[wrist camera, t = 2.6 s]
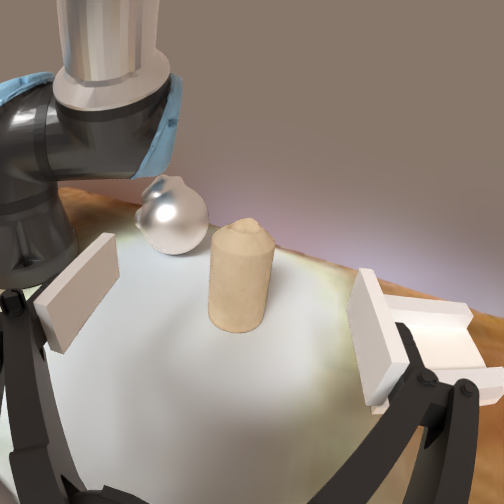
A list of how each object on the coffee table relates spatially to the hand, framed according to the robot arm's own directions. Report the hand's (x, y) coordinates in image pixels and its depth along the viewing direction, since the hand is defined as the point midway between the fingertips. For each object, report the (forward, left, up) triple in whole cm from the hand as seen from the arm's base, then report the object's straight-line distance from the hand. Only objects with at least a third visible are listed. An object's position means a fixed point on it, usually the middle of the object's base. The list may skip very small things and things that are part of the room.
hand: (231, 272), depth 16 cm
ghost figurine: (-10, +22, -12) cm, 27 cm away
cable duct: (+20, +7, -12) cm, 24 cm away
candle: (0, +11, -12) cm, 16 cm away
